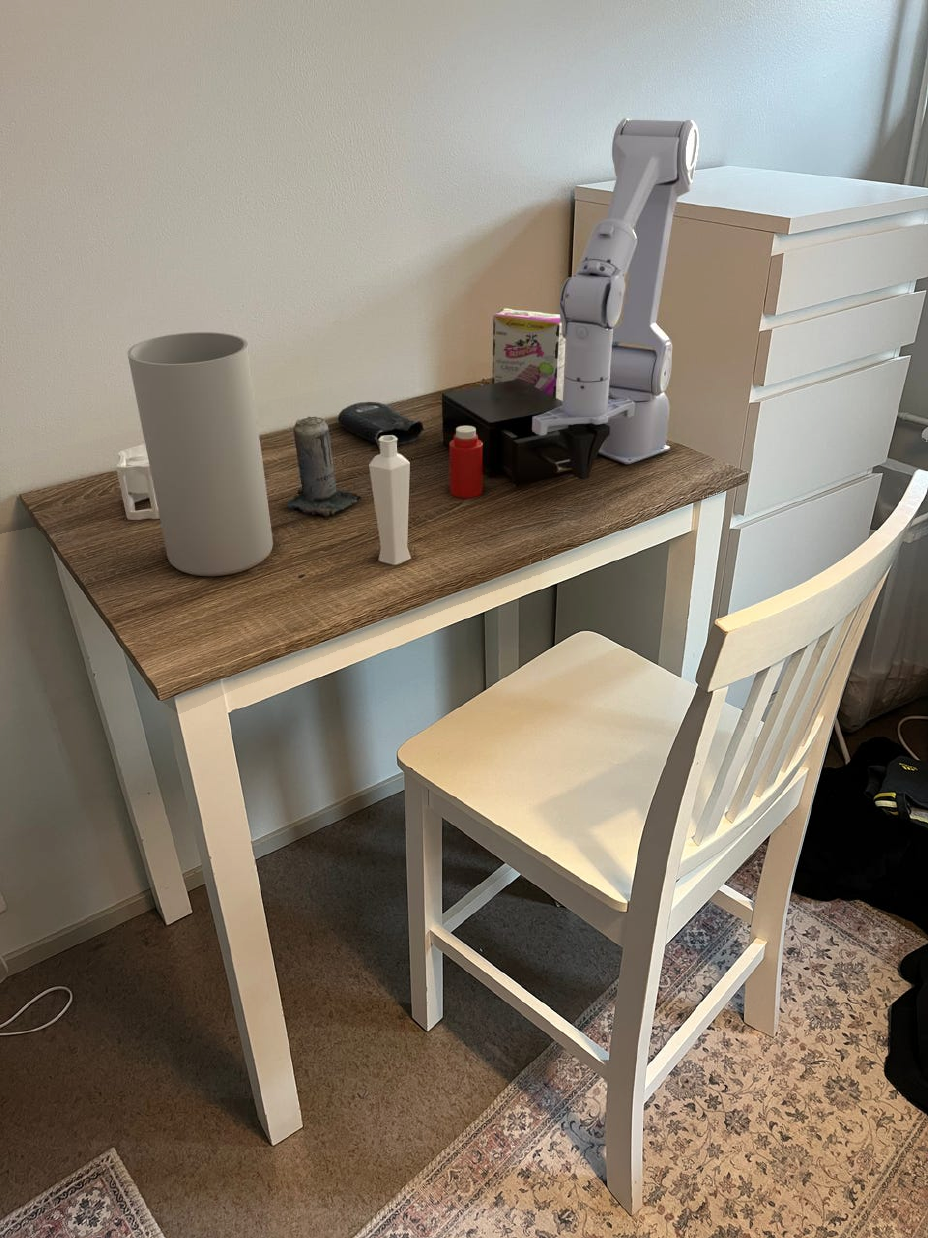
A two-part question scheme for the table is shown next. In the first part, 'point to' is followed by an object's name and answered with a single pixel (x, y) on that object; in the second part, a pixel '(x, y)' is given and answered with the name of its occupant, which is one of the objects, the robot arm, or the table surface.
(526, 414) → the cabinet
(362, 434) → the black crumpled pouch
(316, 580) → the table surface
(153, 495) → the white hollow box frame
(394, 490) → the white faceted vase
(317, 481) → the beverage can
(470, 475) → the sauce bottle
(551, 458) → the drawer
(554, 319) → the candy bar box
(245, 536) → the cylinder vase
